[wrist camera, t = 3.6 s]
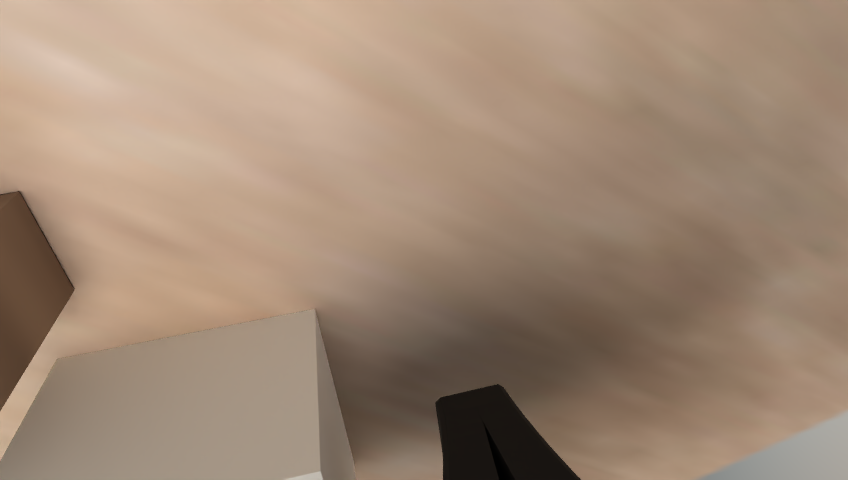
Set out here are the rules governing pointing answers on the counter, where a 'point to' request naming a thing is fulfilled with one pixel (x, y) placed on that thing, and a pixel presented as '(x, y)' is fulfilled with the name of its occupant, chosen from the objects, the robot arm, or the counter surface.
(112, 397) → the off-white block
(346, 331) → the counter surface
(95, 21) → the counter surface
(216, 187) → the counter surface
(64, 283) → the parallel wooden rails
